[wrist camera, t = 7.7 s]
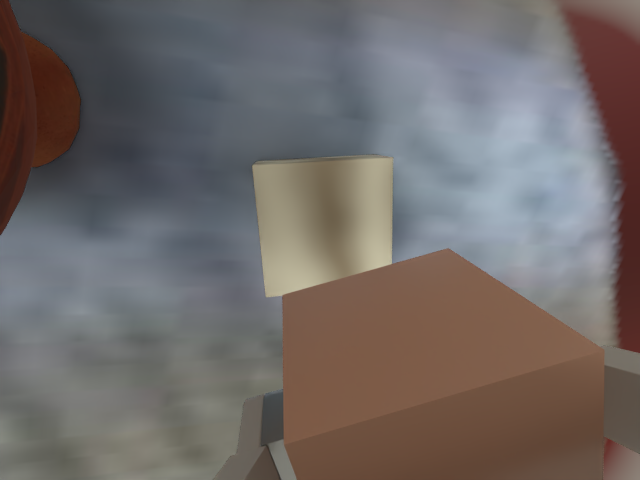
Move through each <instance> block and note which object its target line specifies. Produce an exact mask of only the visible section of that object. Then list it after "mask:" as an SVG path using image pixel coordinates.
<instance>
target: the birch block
mask: <svg viewBox="0 0 640 480" xmlns="http://www.w3.org/2000/svg"><path fill="white" fill-rule="evenodd" d="M252 170H253V180H254V189H255V199H256V208H257V218H258V227H259V237H260V246H261V256H262V265H263V275H264V284H265V294H266V297H273V296H282V295H284V294H287V293H291V292H294V291H298V290H301V289H305V288H308V287H312V286H316V285H319V284H323V283H326V282H330V281H333V280H337V279H341V278H344V277H348V276H351V275H355V274H358V273H362V272H365V271H369V270H373V269H376V268H380V267H383V266H387V265H390V264H392V202H393V157H387V156H381V155H374V154H372V155H354V156H337V157H319V158H301V159H284V160H266V161H256V162H255V163H254V164H253V165H252Z"/></svg>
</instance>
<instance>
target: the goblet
mask: <svg viewBox="0 0 640 480" xmlns="http://www.w3.org/2000/svg"><path fill="white" fill-rule="evenodd" d="M80 103H81V99H80V96H79V93H78V90H77V86H76V84H75V82H74V79H73V77H72V75H71V72H70V70H69V68H68V67H67V66H66V65H65V64H64V63H63V61H62V60H61V59H60V58H59V57H58V56H57V55H56V54H55V53H54V52H53V50H51V49H50V48H48V47H47V46H45V45H44V44H42V43H40V42H39V41H37V40H36V39H34V38H32V37H31V36H29V35H27V34H25V33H23V32H21V31H20V28H19V26H18V23H17V21H16V18H15V16H14V13H13V10H12V8H11V5H10V3H9V0H0V235H1V234H2V232H3V231H4V229H5V228H6V226H7V224H8V222H9V220H10V218H11V216H12V214H13V212H14V210H15V208H16V207H17V205H18V203H19V201H20V199H21V197H22V195H23V192H24V189H25V186H26V182H27V179H28V176H29V173H30V170H31V167H39V166H42V165H44V164H47V163H49V162H51V161H53V160H54V159H56V158H57V157H59V156H60V155H61V154H63V153H64V152H66V151H67V150H69V148H70V146H71V144H72V142H73V140H74V138H75V136H76V134H77V132H78V130H79V120H80Z"/></svg>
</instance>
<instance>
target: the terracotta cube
mask: <svg viewBox="0 0 640 480" xmlns="http://www.w3.org/2000/svg"><path fill="white" fill-rule="evenodd" d="M282 299H283V419H284V447H285V449H286V452H287V455H288V457H289V460H290V463H291V465H292V468H293V471H294V473H295V476H296V479H297V480H603V448H604V356H605V350H604V349H602V348H601V347H599V346H598V345H596V344H595V343H593V342H592V341H590V340H589V339H587V338H585V337H584V336H582V335H581V334H579V333H578V332H576V331H575V330H573V329H572V328H570V327H569V326H567V325H566V324H564V323H562V322H561V321H559V320H558V319H556V318H555V317H553V316H552V315H550V314H549V313H547V312H546V311H544V310H542V309H541V308H539V307H538V306H536V305H535V304H533V303H532V302H530V301H529V300H527V299H526V298H524V297H523V296H521V295H519V294H518V293H516V292H515V291H513V290H512V289H510V288H509V287H507V286H506V285H504V284H503V283H501V282H500V281H498V280H496V279H495V278H493V277H492V276H490V275H489V274H487V273H486V272H484V271H483V270H481V269H480V268H478V267H476V266H475V265H473V264H472V263H470V262H469V261H467V260H466V259H464V258H463V257H461V256H460V255H458V254H457V253H455V252H453V251H452V250H450V249H449V248H447V249H444V250H440V251H437V252H433V253H430V254H426V255H422V256H419V257H415V258H412V259H408V260H405V261H401V262H397V263H394V264H390V265H387V266H383V267H380V268H376V269H373V270H369V271H365V272H362V273H358V274H355V275H351V276H348V277H344V278H341V279H337V280H333V281H330V282H326V283H323V284H319V285H316V286H312V287H308V288H305V289H301V290H298V291H294V292H291V293H287V294H284V295H282Z"/></svg>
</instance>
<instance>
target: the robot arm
mask: <svg viewBox="0 0 640 480" xmlns="http://www.w3.org/2000/svg"><path fill="white" fill-rule="evenodd" d="M599 347H601V348H602V349H604V350H605V356H604V436H605V437H607V438H609V439H611V440H613V441H615V442H617V443H619V444H621V445H623V446H625V447H627V448H629V449H631V450H633V451H635V452H637V453H639V454H640V353H635V352H631V351H627V350H623V349H619V348H614V347H610V346H606V345H603V346H599ZM213 480H297V479H296V476H295V473H294V471H293V468H292V465H291V463H290V460H289V457H288V455H287V452H286V449H285V447H284V419H283V389H281V390H277V391H273V392H270V393H266V394H263V395H259V396H256V397H252V398H249V399H246V401H245V402H244V405H243V412H242V419H241V426H240V433H239V440H238V447H237V454H235V455H232V456H230V457H229V459H228V460H227V461H226V463H225V464H224V465H223V467H222V468H221V469H220V471H219V472H218V474H217V475H216V476H215V478H214V479H213Z"/></svg>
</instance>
